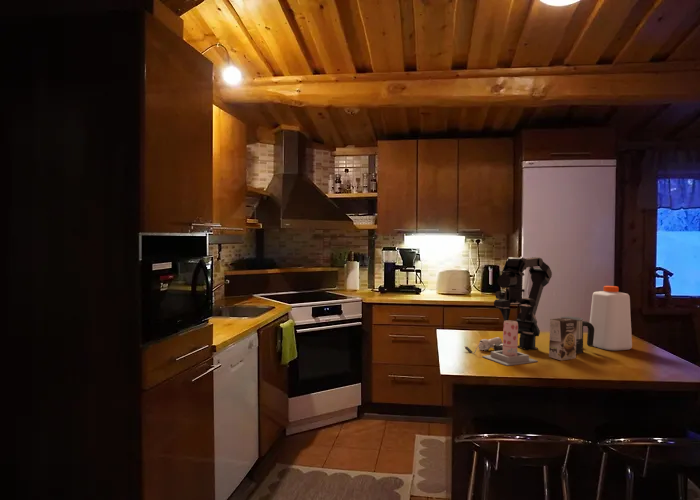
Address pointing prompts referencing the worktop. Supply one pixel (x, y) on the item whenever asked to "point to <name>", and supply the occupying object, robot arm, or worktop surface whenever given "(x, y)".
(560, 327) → the coffee box
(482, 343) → the clip-on lamp
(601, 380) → the worktop surface
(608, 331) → the plastic bottle
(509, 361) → the grey plate with frame
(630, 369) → the worktop surface
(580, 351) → the milk frother
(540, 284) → the robot arm
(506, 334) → the beverage can
